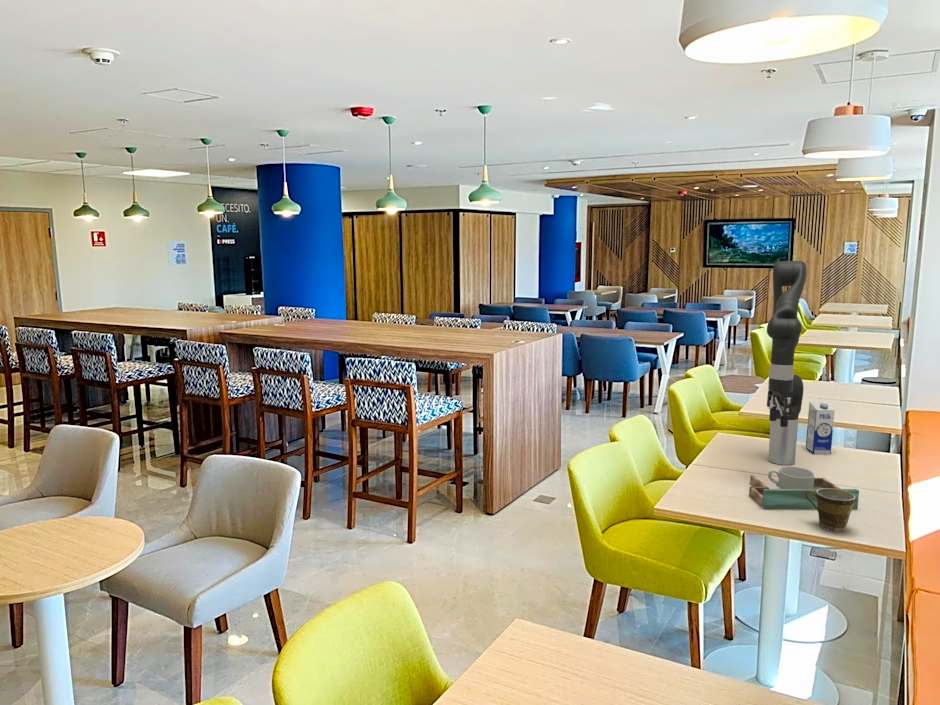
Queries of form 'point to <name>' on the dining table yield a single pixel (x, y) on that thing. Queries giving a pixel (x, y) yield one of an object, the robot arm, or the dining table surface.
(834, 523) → the ceramic cup
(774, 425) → the robot arm
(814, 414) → the milk carton
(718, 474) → the dining table surface
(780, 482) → the teacup
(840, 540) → the dining table surface
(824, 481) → the teal wooden tray
